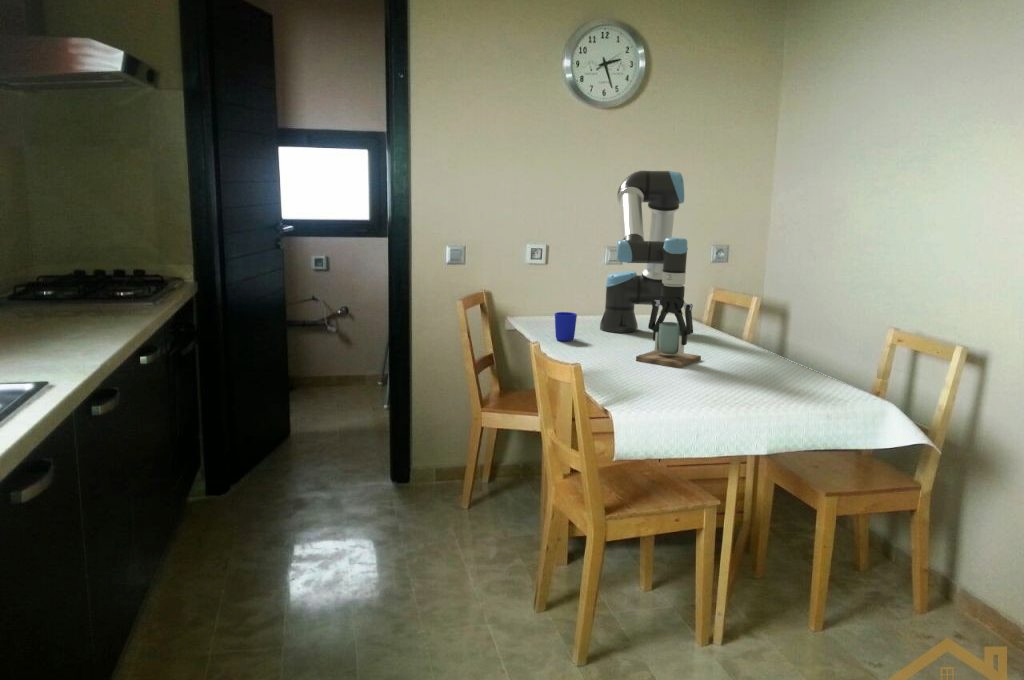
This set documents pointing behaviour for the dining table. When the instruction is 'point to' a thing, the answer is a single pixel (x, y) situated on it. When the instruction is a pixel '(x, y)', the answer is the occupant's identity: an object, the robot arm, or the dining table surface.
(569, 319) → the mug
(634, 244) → the robot arm
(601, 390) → the dining table surface
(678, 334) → the cup
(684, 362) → the board
